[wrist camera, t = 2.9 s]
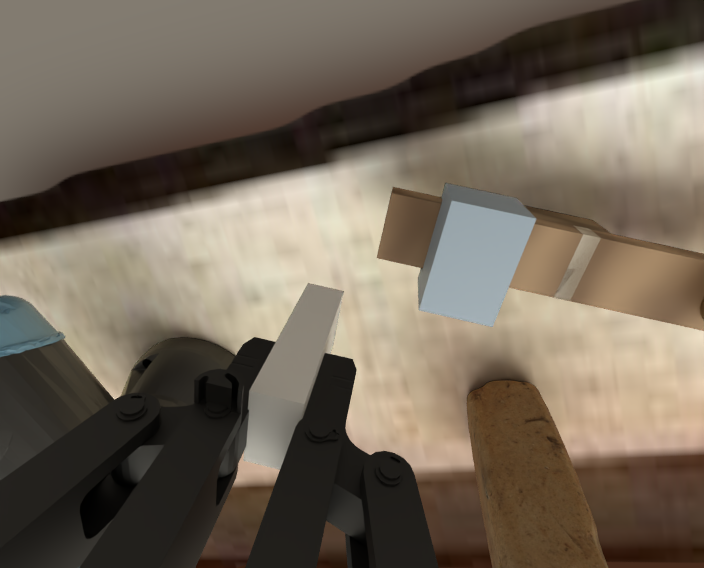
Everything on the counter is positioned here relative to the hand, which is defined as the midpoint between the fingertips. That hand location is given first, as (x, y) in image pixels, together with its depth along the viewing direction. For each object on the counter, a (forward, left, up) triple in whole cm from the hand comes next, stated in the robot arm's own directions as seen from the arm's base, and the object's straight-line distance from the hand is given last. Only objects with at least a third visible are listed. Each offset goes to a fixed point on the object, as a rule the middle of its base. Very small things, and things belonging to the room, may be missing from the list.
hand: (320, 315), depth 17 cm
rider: (+8, 0, -15) cm, 17 cm away
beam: (+16, 0, -21) cm, 26 cm away
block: (+19, -20, -21) cm, 35 cm away
